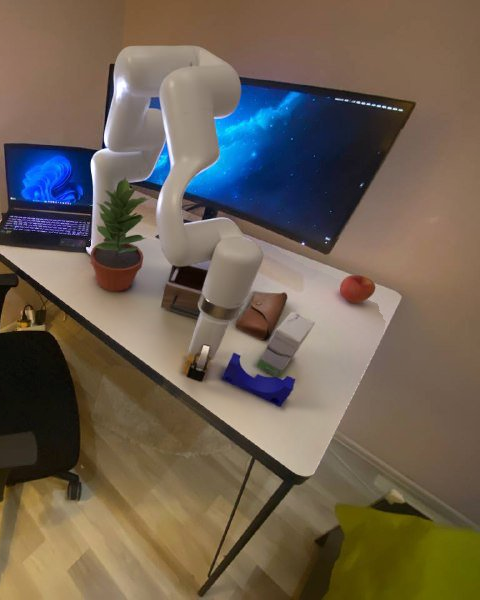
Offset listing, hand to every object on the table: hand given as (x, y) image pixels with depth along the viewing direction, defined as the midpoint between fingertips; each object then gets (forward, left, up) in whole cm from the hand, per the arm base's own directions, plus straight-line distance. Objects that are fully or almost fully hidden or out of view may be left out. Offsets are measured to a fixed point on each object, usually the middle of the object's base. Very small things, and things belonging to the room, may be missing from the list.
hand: (198, 361), depth 75 cm
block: (0, 0, -3) cm, 3 cm away
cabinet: (-32, -6, -3) cm, 33 cm away
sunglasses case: (-25, +12, -3) cm, 28 cm away
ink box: (-10, +16, -3) cm, 19 cm away
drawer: (-20, -6, -2) cm, 21 cm away
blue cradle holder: (-1, +12, -3) cm, 12 cm away
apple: (-43, +34, -3) cm, 55 cm away
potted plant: (-22, -28, -3) cm, 36 cm away
